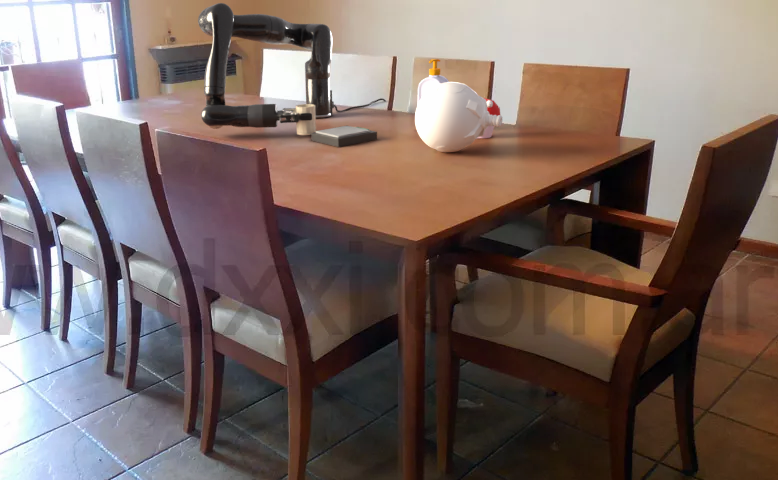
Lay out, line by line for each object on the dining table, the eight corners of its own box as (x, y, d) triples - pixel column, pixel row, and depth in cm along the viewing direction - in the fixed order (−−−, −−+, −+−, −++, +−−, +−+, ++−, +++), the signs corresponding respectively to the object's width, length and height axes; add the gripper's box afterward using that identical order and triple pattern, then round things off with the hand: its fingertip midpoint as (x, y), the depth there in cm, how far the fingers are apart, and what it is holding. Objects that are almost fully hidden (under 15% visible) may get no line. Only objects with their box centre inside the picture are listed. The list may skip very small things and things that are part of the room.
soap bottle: (415, 131, 230) (417, 59, 220) (424, 127, 235) (427, 57, 225) (439, 133, 225) (442, 60, 215) (448, 129, 230) (452, 58, 221)
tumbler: (308, 130, 231) (307, 103, 228) (319, 133, 226) (319, 105, 223) (292, 133, 228) (291, 105, 224) (304, 136, 223) (303, 108, 219)
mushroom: (461, 133, 224) (463, 95, 219) (494, 132, 224) (497, 94, 219) (468, 140, 214) (470, 100, 209) (503, 138, 214) (506, 99, 209)
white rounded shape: (429, 142, 213) (432, 76, 205) (508, 149, 200) (515, 80, 192) (402, 155, 198) (404, 84, 190) (486, 163, 185) (492, 89, 177)
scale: (349, 133, 229) (349, 124, 228) (377, 139, 219) (377, 129, 218) (311, 140, 221) (311, 130, 219) (338, 147, 210) (338, 137, 209)
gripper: (259, 107, 218) (311, 106, 216) (264, 100, 231) (313, 99, 230) (260, 131, 221) (312, 130, 220) (265, 123, 234) (314, 122, 233)
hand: (312, 114), depth 225 cm, fingers closed on tumbler, 6 cm apart
